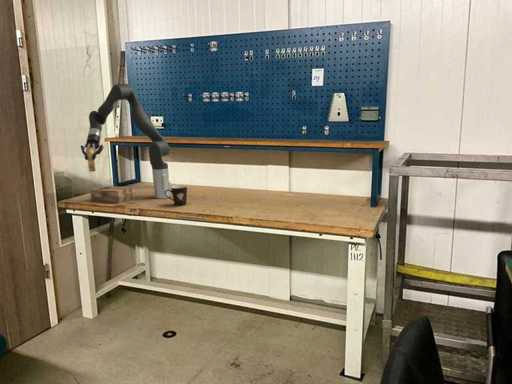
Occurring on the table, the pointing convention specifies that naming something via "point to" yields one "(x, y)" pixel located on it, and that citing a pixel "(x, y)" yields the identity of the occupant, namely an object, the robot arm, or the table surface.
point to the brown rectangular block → (111, 194)
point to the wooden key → (90, 159)
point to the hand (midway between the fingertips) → (89, 159)
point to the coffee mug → (178, 195)
